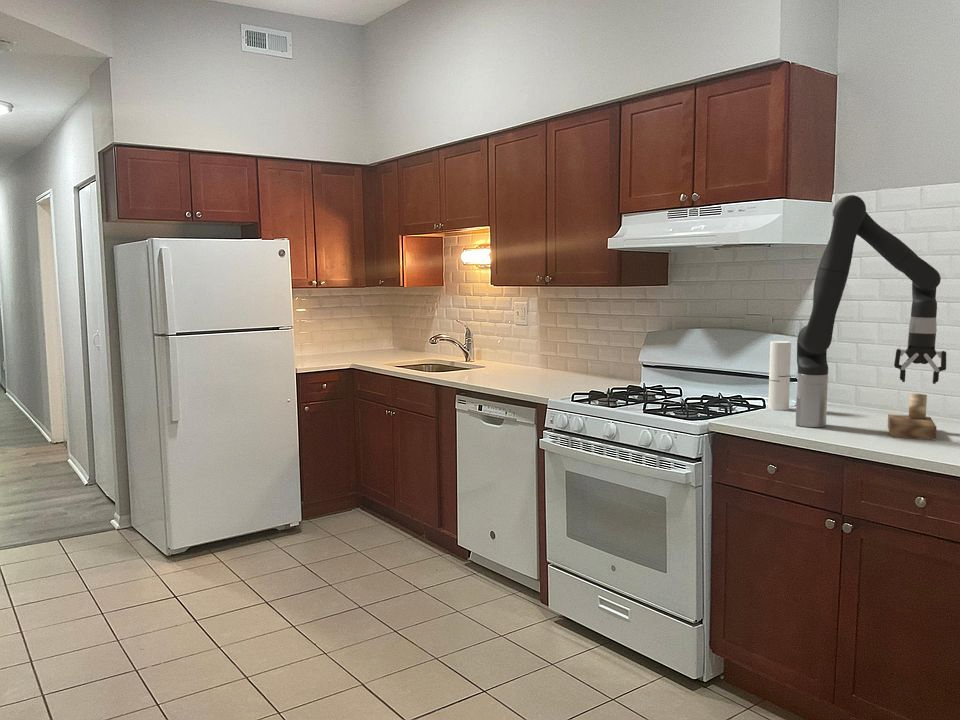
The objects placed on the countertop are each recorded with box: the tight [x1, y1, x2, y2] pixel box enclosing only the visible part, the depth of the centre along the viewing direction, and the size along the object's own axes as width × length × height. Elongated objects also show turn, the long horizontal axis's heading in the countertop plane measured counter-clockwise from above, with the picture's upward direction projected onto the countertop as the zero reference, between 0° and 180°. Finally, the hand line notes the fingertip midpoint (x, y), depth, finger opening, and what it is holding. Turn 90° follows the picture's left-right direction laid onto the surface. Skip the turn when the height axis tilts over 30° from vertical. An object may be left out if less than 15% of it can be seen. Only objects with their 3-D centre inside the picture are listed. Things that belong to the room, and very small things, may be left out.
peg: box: [907, 393, 928, 419], centre depth 250 cm, size 5×5×11 cm
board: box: [887, 413, 937, 440], centre depth 247 cm, size 12×18×4 cm, turn 156°
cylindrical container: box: [767, 340, 792, 411], centre depth 291 cm, size 7×7×25 cm
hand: (918, 382), depth 249 cm, fingers open, 8 cm apart
